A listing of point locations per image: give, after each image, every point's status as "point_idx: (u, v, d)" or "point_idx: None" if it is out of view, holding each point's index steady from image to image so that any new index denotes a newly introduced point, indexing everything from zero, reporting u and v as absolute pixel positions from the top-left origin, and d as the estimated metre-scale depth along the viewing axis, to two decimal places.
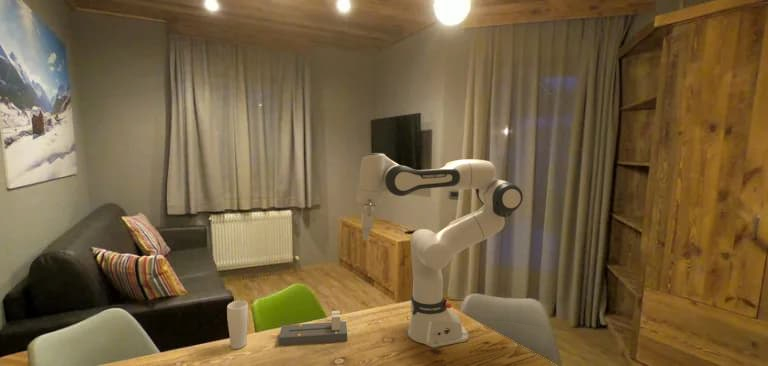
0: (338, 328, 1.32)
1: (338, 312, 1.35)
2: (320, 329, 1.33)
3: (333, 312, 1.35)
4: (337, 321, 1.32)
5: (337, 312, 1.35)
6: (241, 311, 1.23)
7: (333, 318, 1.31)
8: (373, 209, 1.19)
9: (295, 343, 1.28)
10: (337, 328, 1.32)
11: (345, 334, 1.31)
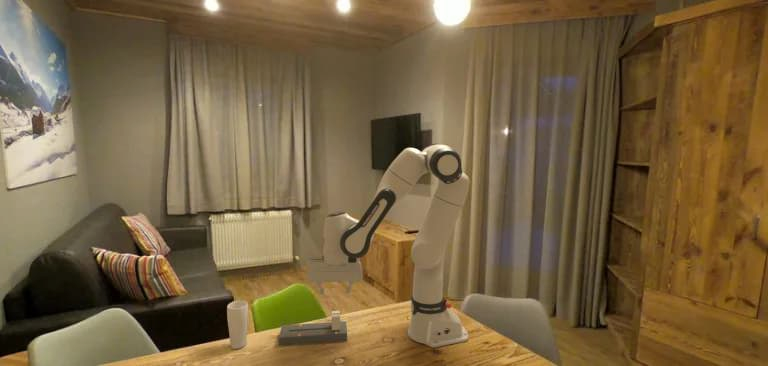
0: (338, 328, 1.32)
1: (338, 312, 1.35)
2: (320, 329, 1.33)
3: (333, 312, 1.35)
4: (337, 321, 1.32)
5: (337, 312, 1.35)
6: (241, 311, 1.23)
7: (333, 318, 1.31)
8: (310, 264, 1.29)
9: (295, 343, 1.28)
10: (337, 328, 1.32)
11: (345, 334, 1.31)
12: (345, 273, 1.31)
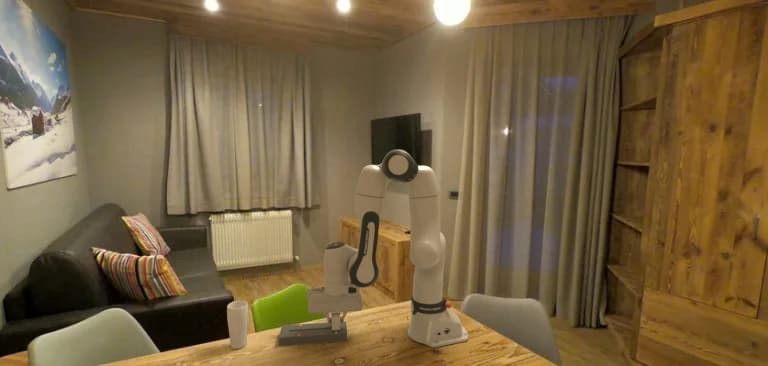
0: (338, 328, 1.32)
1: (338, 312, 1.35)
2: (320, 329, 1.33)
3: (333, 312, 1.35)
4: (337, 321, 1.32)
5: (337, 312, 1.35)
6: (241, 311, 1.23)
7: (333, 318, 1.31)
8: (311, 295, 1.31)
9: (295, 343, 1.28)
10: (337, 328, 1.32)
11: (345, 334, 1.31)
12: (345, 304, 1.32)
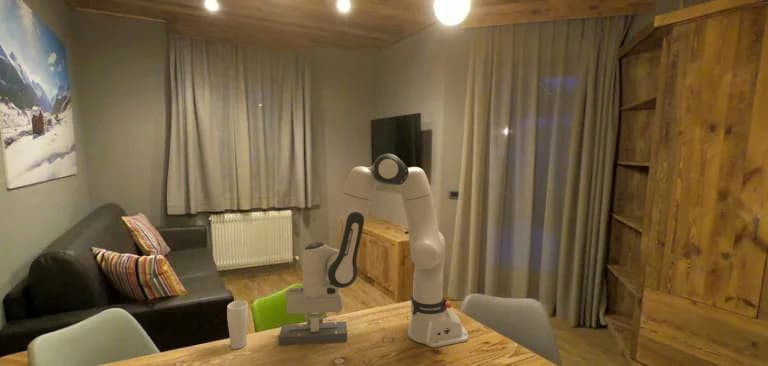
0: (317, 329, 1.31)
1: (317, 313, 1.34)
2: (320, 329, 1.33)
3: (312, 313, 1.34)
4: (315, 322, 1.31)
5: (316, 313, 1.34)
6: (241, 311, 1.23)
7: (312, 319, 1.30)
8: (289, 296, 1.29)
9: (295, 343, 1.28)
10: (316, 330, 1.31)
11: (345, 334, 1.31)
12: (324, 304, 1.31)
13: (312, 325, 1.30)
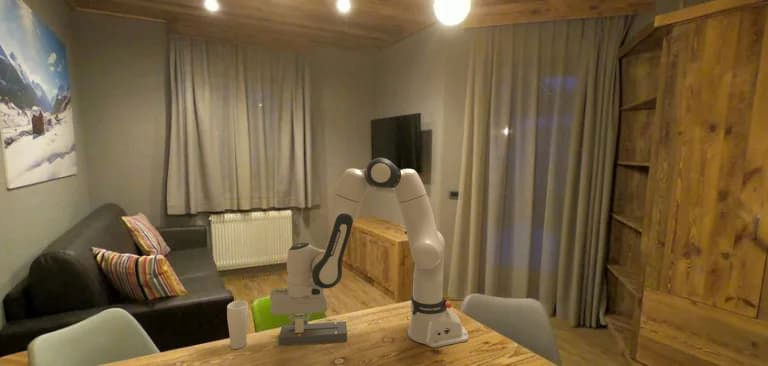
0: (301, 330, 1.30)
1: (302, 314, 1.33)
2: (320, 329, 1.33)
3: (297, 314, 1.33)
4: (300, 323, 1.30)
5: (301, 314, 1.33)
6: (241, 311, 1.23)
7: (297, 320, 1.29)
8: (273, 296, 1.29)
9: (295, 343, 1.28)
10: (300, 330, 1.30)
11: (345, 334, 1.31)
12: (309, 305, 1.30)
13: (297, 326, 1.30)
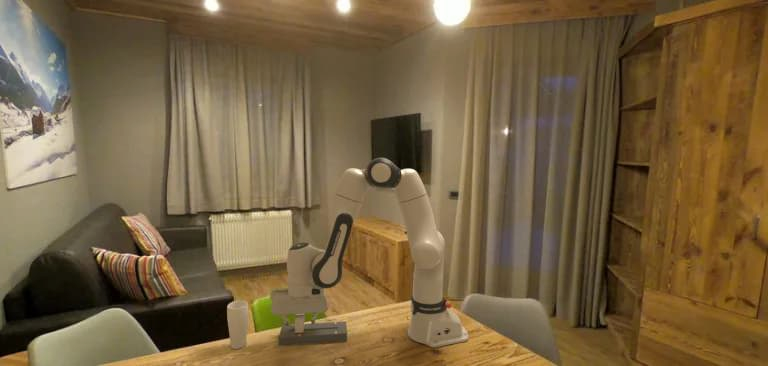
0: (301, 330, 1.30)
1: (302, 314, 1.33)
2: (320, 329, 1.33)
3: (297, 314, 1.33)
4: (300, 323, 1.30)
5: (301, 314, 1.33)
6: (241, 311, 1.23)
7: (297, 320, 1.29)
8: (273, 297, 1.28)
9: (295, 343, 1.28)
10: (300, 330, 1.30)
11: (345, 334, 1.31)
12: (309, 305, 1.30)
13: (296, 326, 1.30)
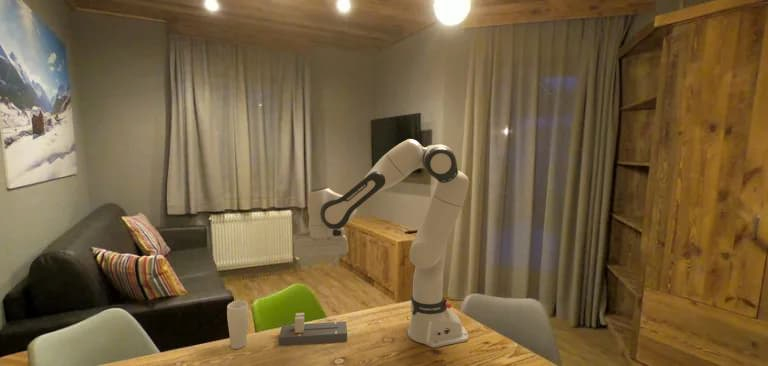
0: (301, 330, 1.30)
1: (302, 314, 1.33)
2: (320, 329, 1.33)
3: (297, 314, 1.33)
4: (300, 323, 1.30)
5: (301, 314, 1.33)
6: (241, 311, 1.23)
7: (297, 320, 1.29)
8: (296, 239, 1.33)
9: (295, 343, 1.28)
10: (300, 330, 1.30)
11: (345, 334, 1.31)
12: (331, 247, 1.35)
13: (296, 326, 1.30)
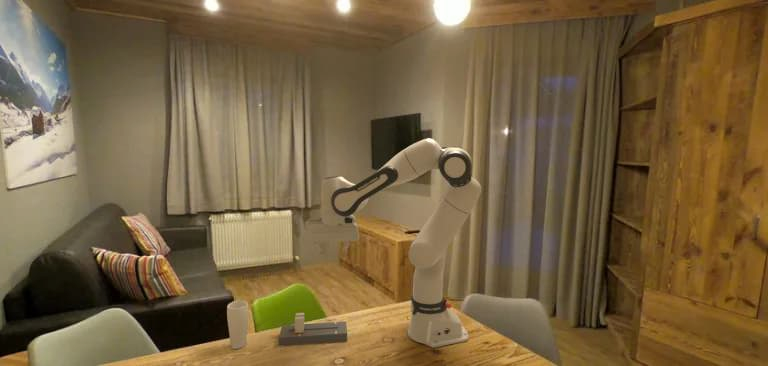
0: (301, 330, 1.30)
1: (302, 314, 1.33)
2: (320, 329, 1.33)
3: (297, 314, 1.33)
4: (300, 323, 1.30)
5: (301, 314, 1.33)
6: (241, 311, 1.23)
7: (297, 320, 1.29)
8: (308, 225, 1.36)
9: (295, 343, 1.28)
10: (300, 330, 1.30)
11: (345, 334, 1.31)
12: (342, 234, 1.38)
13: (296, 326, 1.30)
